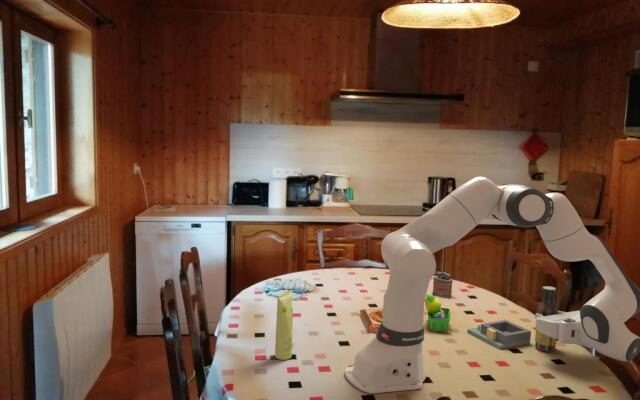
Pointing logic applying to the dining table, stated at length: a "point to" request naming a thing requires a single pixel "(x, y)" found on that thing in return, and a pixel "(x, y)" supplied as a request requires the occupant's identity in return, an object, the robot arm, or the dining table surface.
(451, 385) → the dining table surface
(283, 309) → the tube
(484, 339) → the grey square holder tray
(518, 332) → the socket
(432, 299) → the fruit basket
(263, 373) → the dining table surface
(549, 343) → the sauce bottle
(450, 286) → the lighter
